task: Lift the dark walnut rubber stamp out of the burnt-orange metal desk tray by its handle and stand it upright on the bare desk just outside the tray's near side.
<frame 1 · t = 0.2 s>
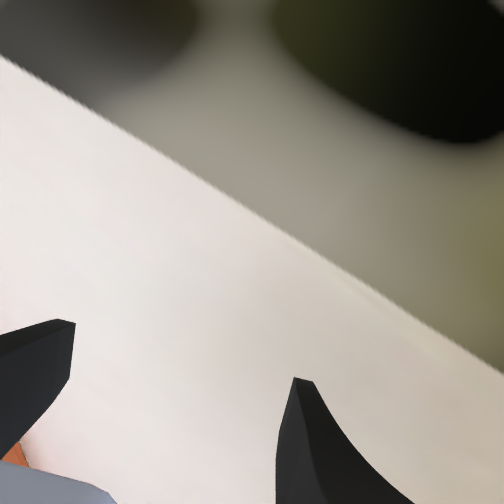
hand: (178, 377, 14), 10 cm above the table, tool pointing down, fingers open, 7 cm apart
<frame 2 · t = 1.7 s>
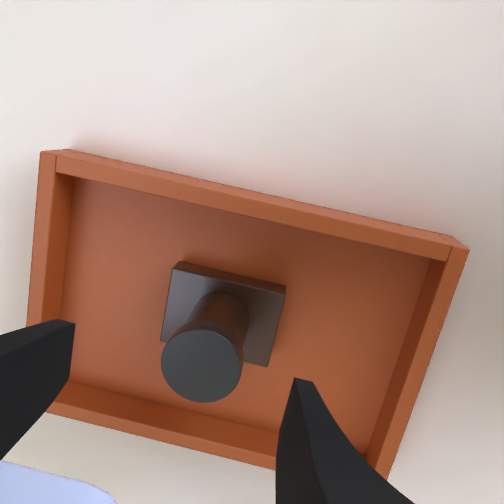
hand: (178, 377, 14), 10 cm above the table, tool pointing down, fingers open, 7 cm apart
tray: (229, 315, 24), on the table
stamp: (225, 306, 24), resting on tray
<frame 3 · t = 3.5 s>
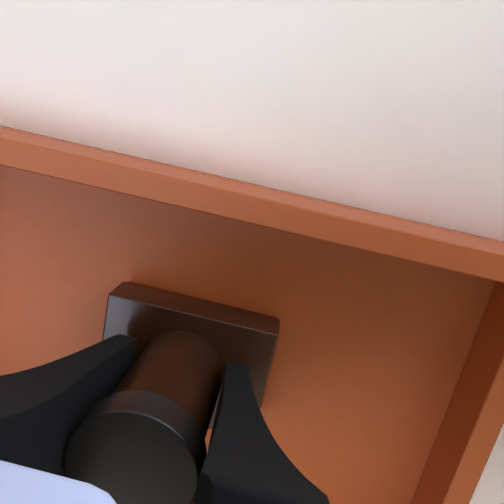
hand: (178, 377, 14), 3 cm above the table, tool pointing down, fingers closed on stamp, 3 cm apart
tray: (199, 357, 17), on the table
stamp: (193, 346, 16), point 1 cm above the table, touching gripper, tray
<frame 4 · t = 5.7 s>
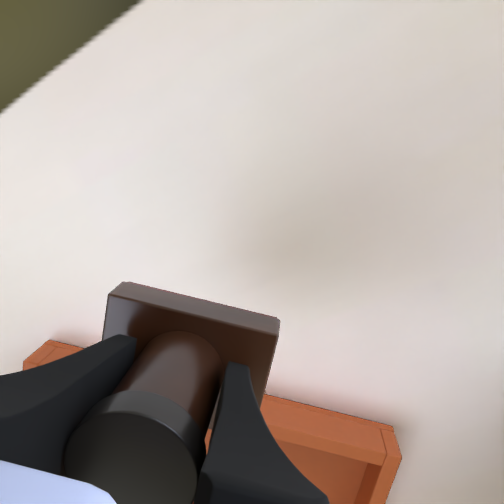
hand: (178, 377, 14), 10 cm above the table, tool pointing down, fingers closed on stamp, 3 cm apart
tray: (195, 480, 27), on the table
stamp: (192, 346, 16), point 7 cm above the table, touching gripper
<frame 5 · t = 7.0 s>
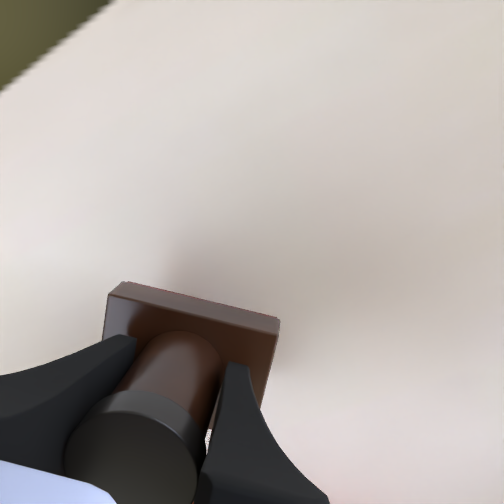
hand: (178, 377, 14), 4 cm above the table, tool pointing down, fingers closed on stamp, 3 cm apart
stamp: (192, 346, 16), point 2 cm above the table, touching gripper
when the fingers open (2 cm above the table, at t = 7.9 s): stamp stays where it is, on the table.
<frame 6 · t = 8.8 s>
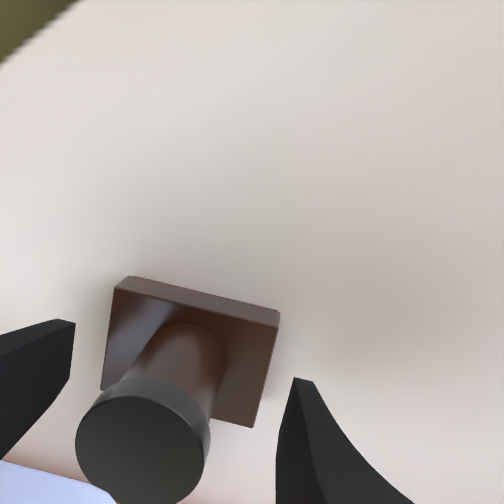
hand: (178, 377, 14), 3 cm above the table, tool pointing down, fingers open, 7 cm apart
stamp: (195, 339, 17), on the table
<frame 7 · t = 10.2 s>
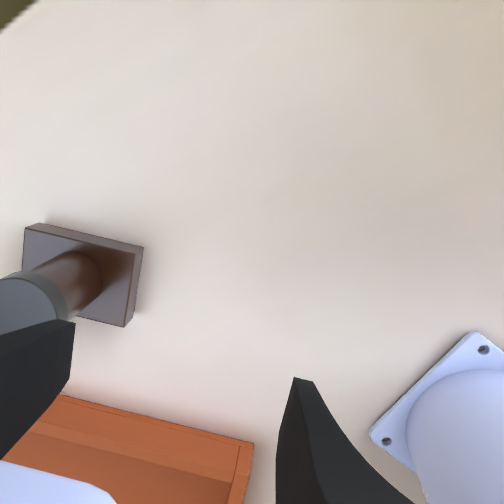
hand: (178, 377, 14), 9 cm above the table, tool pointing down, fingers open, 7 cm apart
tray: (76, 495, 28), on the table
stamp: (89, 269, 24), on the table
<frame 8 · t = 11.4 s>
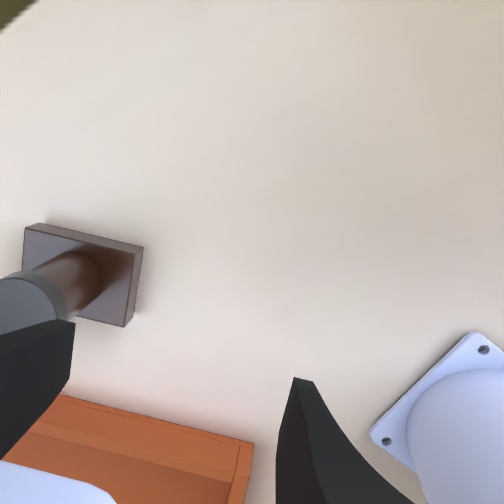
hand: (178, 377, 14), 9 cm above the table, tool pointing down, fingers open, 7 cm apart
tray: (76, 495, 28), on the table
stamp: (89, 269, 24), on the table
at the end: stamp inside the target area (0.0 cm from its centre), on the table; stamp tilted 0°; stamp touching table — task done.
